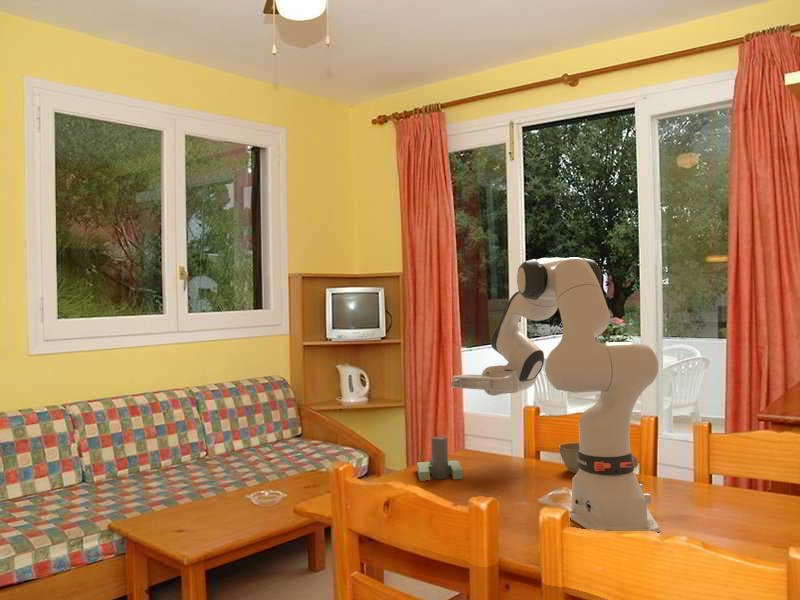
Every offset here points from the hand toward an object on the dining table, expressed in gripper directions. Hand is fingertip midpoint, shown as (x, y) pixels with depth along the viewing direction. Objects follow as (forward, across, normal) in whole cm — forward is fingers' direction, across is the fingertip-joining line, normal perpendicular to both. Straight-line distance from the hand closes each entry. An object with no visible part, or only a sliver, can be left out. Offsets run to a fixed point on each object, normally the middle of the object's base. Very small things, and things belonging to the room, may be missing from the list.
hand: (464, 384), depth 209 cm
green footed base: (+9, -3, +25) cm, 26 cm away
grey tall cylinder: (+11, -1, +25) cm, 27 cm away
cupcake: (-20, +38, +26) cm, 50 cm away
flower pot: (-19, +24, +25) cm, 40 cm away
